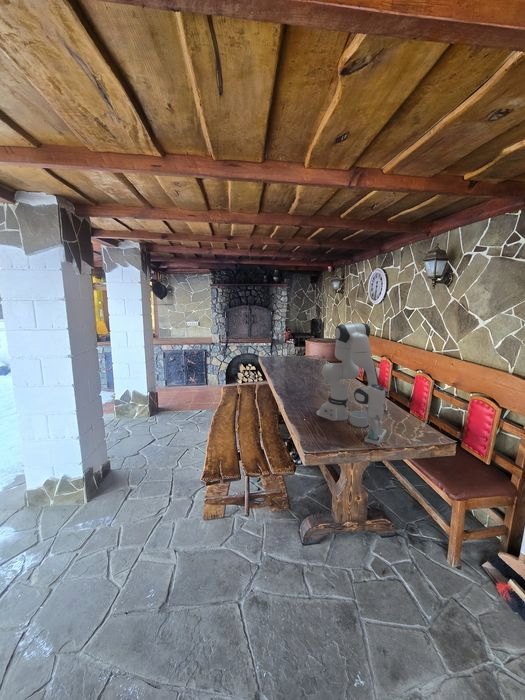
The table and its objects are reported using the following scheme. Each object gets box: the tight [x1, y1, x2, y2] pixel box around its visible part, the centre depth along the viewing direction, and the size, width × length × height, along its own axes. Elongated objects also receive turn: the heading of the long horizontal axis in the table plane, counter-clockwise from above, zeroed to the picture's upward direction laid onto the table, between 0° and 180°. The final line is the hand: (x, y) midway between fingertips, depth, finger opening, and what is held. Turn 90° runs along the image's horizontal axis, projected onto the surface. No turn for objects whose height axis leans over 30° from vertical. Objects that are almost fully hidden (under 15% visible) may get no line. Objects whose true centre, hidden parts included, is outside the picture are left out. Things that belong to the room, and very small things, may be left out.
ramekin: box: [348, 410, 369, 428], centre depth 187 cm, size 13×13×7 cm
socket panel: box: [363, 428, 388, 446], centre depth 169 cm, size 8×20×2 cm, turn 145°
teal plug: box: [369, 427, 377, 441], centre depth 164 cm, size 4×4×9 cm
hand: (373, 435), depth 164 cm, fingers open, 7 cm apart
